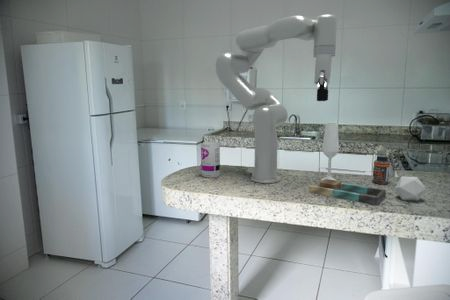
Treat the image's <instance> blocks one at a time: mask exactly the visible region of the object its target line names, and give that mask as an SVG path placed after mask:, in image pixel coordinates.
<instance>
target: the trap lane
mask: <svg viewBox="0 0 450 300" xmlns="http://www.w3.org/2000/svg"><path fill="white" fill-rule="evenodd" d="M322 179H323V178H321V179H319V181H318V182H321V181H323V180H322ZM308 193H310V194H311V193H312V194H316V195H321V196H326V197H331V198H335V199H341V200H347V201H352V202H358V203H362V204H367V205H372V206H379V204H380V203H381V202H382V201H383V200H384V199H385V198H386V196H387V195H386V193H387V189H382V188H375V187H370V186H365V185H364V186H362V185H359V184H358V185H357V184H351V183H345V182H341V191H340V190H335V189H329V188H324V187H319V186H318V185H317V186H316V185H312V184H310V185H308Z"/></svg>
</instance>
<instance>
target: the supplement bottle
mask: <svg viewBox="0 0 450 300" xmlns="http://www.w3.org/2000/svg"><path fill="white" fill-rule="evenodd" d="M388 159H389V157H388V155H386V154H385V155H384V154H378V155H376V159H375V160H374V161H373V165H372V166H373V167H372V175H371V176H372V180H371V181H372V183H374V184H377V185H388V183H389V178H390V177H389V175H390V164H391V163H390V161H389V160H388Z"/></svg>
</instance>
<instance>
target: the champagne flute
mask: <svg viewBox="0 0 450 300" xmlns="http://www.w3.org/2000/svg"><path fill="white" fill-rule="evenodd" d="M323 134H324V135H323V141H322V148H321V151H322V153H323V154H324V156H326V157H327V158H328V160H327V161H328V162H327V166H328V167H327V176H324V177H323V178H321V179H322V180H325V179H330V180H336V181H338V180H337V179H335V178H334V177H332V175H331V174H332V173H331V172H332V158H334V157H335V156H337V155H338V153H339V152H340V145H339V144H340V142H339V123H334V122H327V123H325V126H324V133H323Z"/></svg>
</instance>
